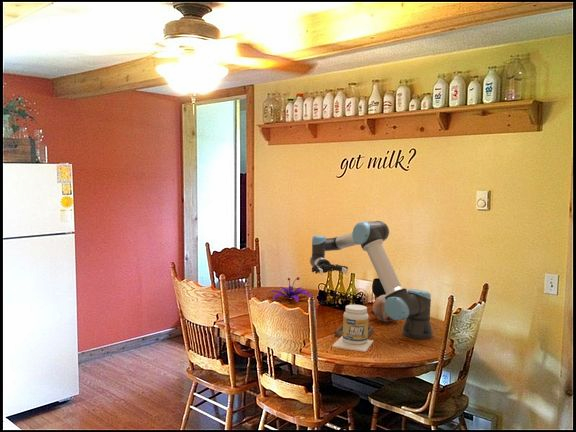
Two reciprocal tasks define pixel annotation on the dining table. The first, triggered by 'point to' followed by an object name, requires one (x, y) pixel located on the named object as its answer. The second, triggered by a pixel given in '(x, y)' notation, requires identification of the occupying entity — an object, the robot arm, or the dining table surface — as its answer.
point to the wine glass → (377, 288)
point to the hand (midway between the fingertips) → (334, 272)
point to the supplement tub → (355, 324)
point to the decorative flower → (291, 292)
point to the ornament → (381, 309)
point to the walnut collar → (340, 329)
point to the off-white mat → (352, 345)
